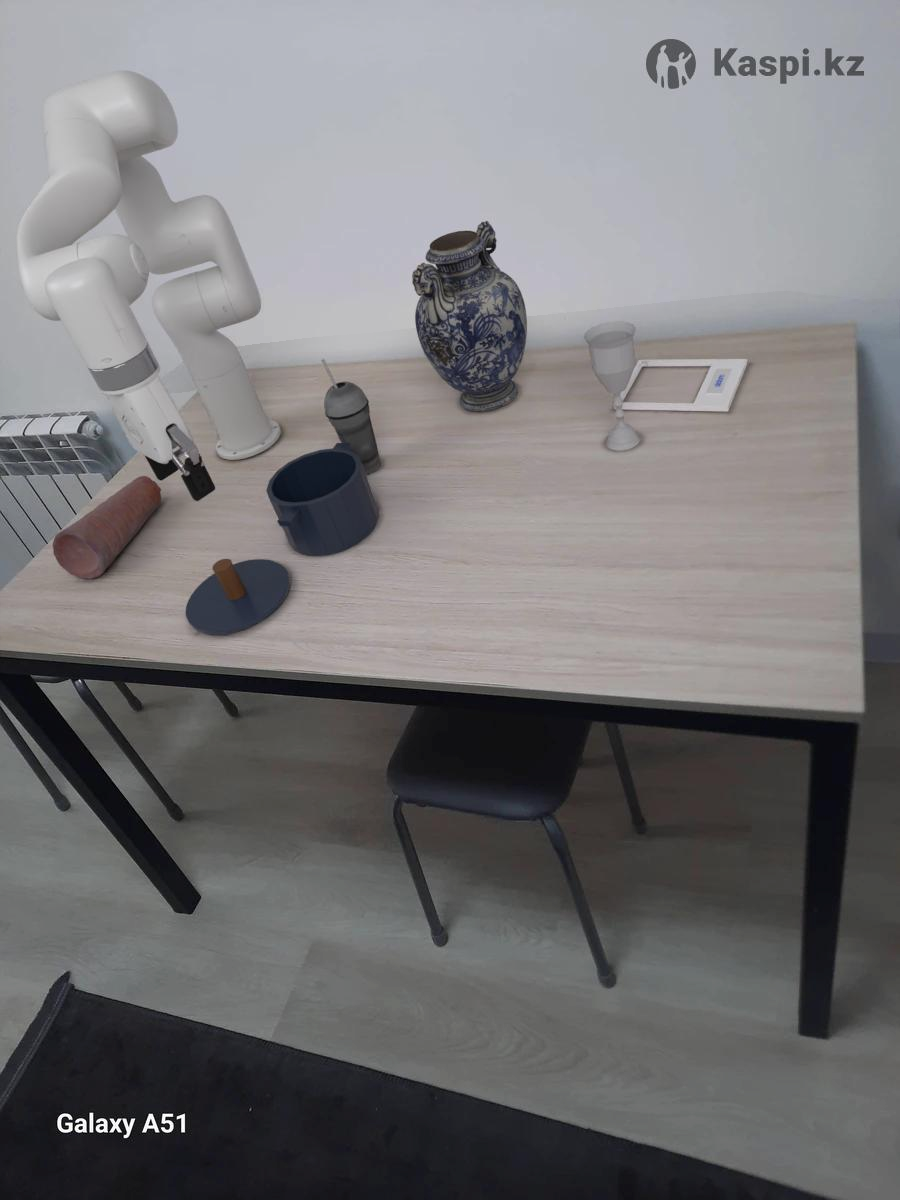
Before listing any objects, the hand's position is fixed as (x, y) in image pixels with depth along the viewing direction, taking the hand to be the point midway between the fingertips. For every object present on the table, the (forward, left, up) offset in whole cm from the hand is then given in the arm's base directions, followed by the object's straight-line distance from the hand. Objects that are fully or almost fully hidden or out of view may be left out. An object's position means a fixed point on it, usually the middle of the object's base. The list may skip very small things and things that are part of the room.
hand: (186, 484), depth 113 cm
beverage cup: (-8, +32, -20) cm, 39 cm away
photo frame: (+26, +73, -20) cm, 80 cm away
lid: (+1, -1, -19) cm, 19 cm away
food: (-32, -3, -20) cm, 38 cm away
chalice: (+27, +56, -20) cm, 65 cm away
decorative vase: (-4, +58, -20) cm, 61 cm away
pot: (0, +18, -20) cm, 27 cm away
